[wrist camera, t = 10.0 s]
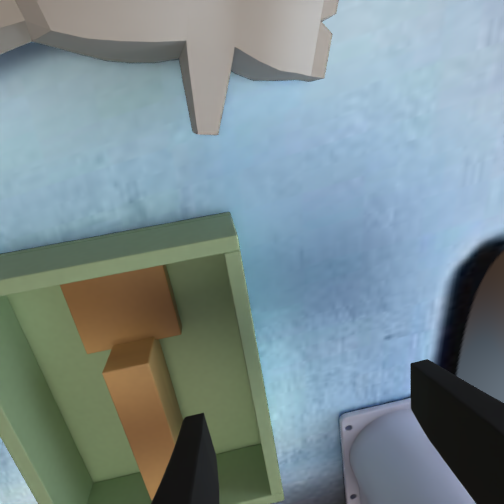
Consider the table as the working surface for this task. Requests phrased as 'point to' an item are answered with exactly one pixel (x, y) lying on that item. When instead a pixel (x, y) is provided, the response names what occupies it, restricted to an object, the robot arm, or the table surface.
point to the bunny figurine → (184, 39)
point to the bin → (92, 365)
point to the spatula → (134, 357)
